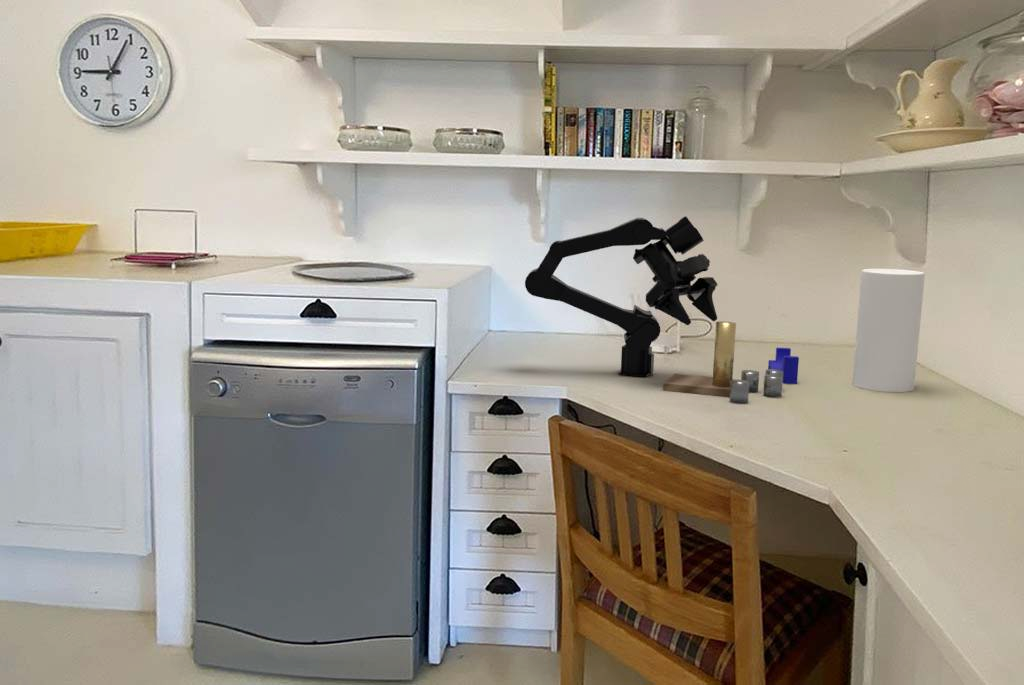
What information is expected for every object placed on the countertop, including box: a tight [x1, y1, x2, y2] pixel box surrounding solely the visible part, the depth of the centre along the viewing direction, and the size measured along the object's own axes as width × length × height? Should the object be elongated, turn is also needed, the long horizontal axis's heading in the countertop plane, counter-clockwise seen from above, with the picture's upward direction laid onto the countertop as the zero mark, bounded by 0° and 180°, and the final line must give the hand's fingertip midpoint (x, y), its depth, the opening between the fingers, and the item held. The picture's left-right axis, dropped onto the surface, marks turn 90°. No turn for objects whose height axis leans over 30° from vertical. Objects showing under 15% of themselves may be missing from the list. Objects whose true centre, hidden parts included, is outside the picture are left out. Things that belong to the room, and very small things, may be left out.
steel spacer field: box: [729, 368, 784, 404], centre depth 189 cm, size 9×18×4 cm, turn 158°
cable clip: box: [767, 347, 800, 385], centre depth 206 cm, size 12×4×6 cm, turn 173°
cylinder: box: [852, 268, 926, 393], centre depth 198 cm, size 12×12×25 cm
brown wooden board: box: [662, 373, 739, 398], centre depth 194 cm, size 14×11×2 cm
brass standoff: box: [712, 321, 737, 387], centre depth 190 cm, size 4×4×13 cm
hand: (702, 322), depth 196 cm, fingers open, 9 cm apart
